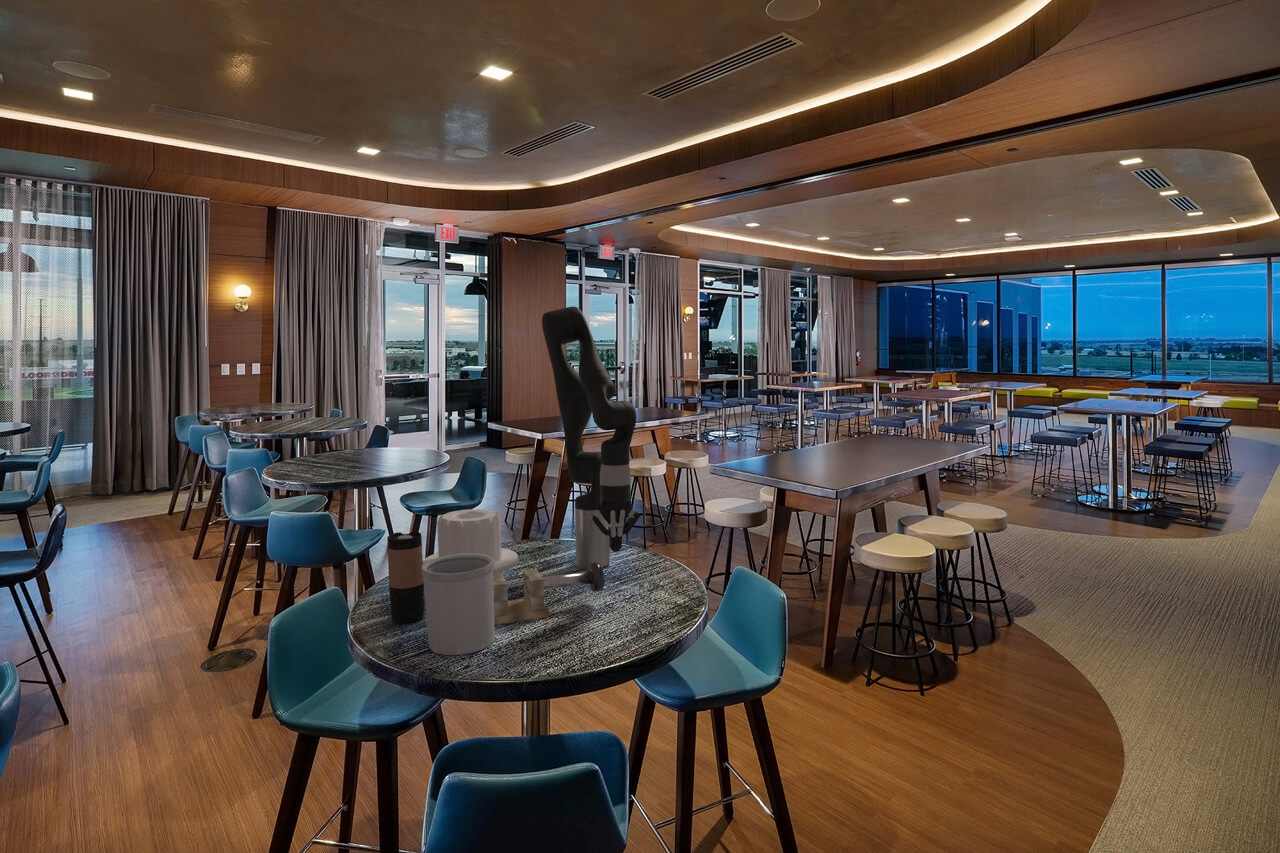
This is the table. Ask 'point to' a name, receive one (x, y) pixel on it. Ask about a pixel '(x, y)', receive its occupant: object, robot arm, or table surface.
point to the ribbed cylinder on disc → (473, 537)
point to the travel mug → (406, 577)
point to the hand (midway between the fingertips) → (615, 550)
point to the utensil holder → (459, 603)
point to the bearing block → (520, 608)
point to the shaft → (576, 579)
